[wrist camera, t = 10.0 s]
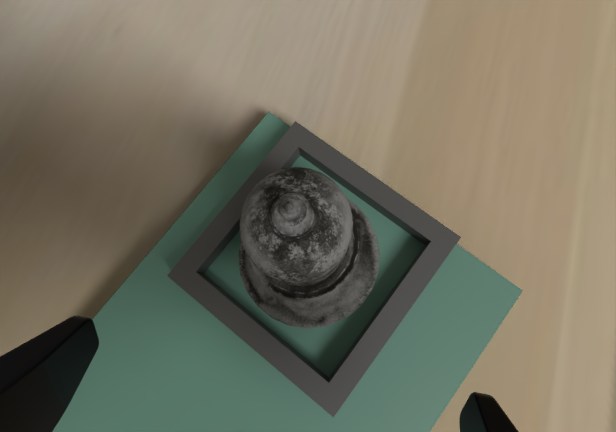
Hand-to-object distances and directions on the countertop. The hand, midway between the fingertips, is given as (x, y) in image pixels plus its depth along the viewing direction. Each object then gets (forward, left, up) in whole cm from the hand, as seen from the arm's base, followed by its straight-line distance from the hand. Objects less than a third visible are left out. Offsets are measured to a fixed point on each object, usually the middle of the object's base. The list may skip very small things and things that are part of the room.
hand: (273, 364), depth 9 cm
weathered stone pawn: (+3, +2, -10) cm, 11 cm away
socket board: (-2, +1, -11) cm, 12 cm away
